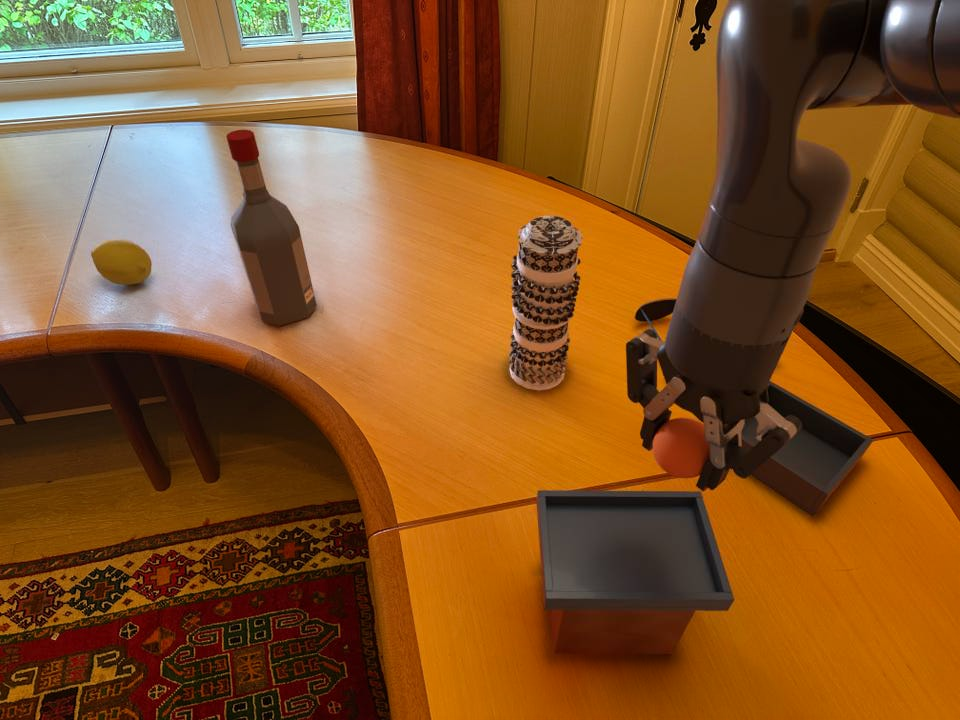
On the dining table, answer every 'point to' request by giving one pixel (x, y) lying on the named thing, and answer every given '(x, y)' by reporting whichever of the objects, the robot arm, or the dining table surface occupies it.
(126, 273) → the lemon
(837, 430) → the bin
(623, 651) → the stand
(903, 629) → the dining table surface
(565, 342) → the decorative candle
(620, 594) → the tray
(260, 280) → the liquor
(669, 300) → the sunglasses
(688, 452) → the ball
